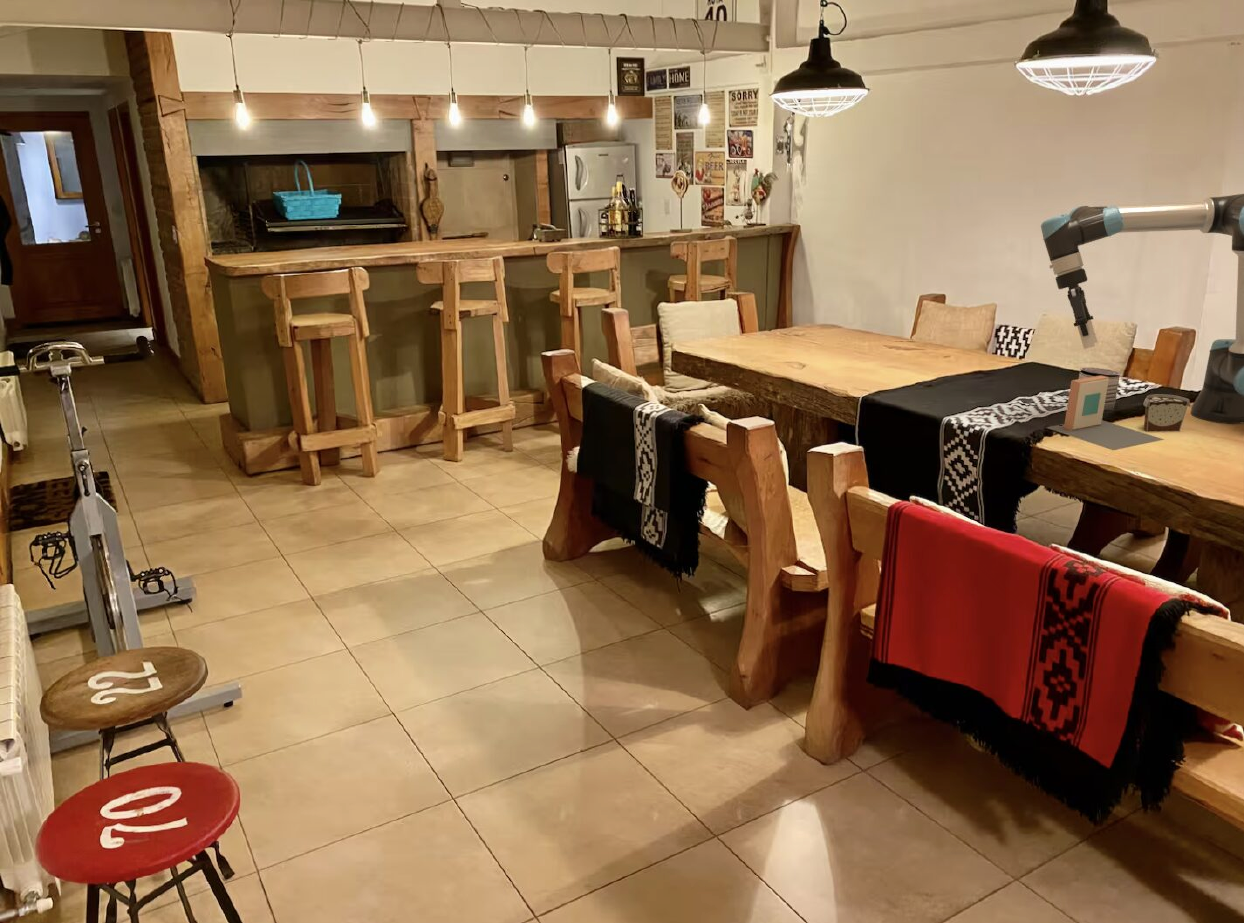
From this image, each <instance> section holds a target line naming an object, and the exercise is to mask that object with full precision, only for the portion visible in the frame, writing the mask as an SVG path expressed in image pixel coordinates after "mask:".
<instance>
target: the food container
mask: <svg viewBox="0 0 1244 923" xmlns="http://www.w3.org/2000/svg"><path fill="white" fill-rule="evenodd" d="M1142 404H1143V406H1144V407H1145V409H1144V410H1145V411H1144V423H1143V430H1144V432H1180V431H1181V429H1182V426H1183V422H1184V419H1185V415H1186V412H1187V409H1188V407H1191V402H1190V398H1186V397H1183V396H1179V395H1173V394H1165V393H1162V394H1161V393H1160V394H1159V393H1157V394H1149V395H1146V398H1145V399H1144V401H1143V403H1142Z"/></svg>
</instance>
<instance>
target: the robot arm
mask: <svg viewBox="0 0 1244 923" xmlns="http://www.w3.org/2000/svg"><path fill="white" fill-rule="evenodd" d="M1040 228H1041V233H1042V237H1043V239H1042V240H1043V241H1044V245H1045V248H1046V251H1047V254H1048V257H1049V258H1048V259H1049V261H1050V265H1049V269H1052V271H1053V274H1054V275H1055V282H1056V285H1057V288H1058V290H1063V289H1066V288H1068V290H1067V295H1066V296H1067V299H1068V302H1069V304H1070V308H1072V313H1073V315H1074V320H1075V321H1074V323H1073V326H1074V327H1077V330H1078V333H1079V336H1080V340H1081V343H1082V347H1083V350H1087V349H1089V348H1092V347H1095V346H1096V345H1095V344H1097V343H1098V339H1097V336H1096V332H1095V328H1094V324H1093V322H1092V320H1094V317H1093V315H1091V314H1090V312H1089V308H1088V306H1087V300H1086V295H1085V291H1084V289H1082V287H1081V286H1080V285H1079V284H1082V283H1085V282H1087V281H1088V277H1087V272H1086V270H1085V269H1084V268H1083V266H1084V261H1083V258H1082V255H1081V251H1080V249H1079V246H1083V245H1086V244H1089V243H1092V242H1095V241H1099V240H1102V239H1105V238H1108V237H1110V238H1111V236H1114V235H1116V234H1121V233H1145V232H1146V233H1147V232H1173V231H1176V232H1177V231H1200V232H1201V233H1203V234H1222V235H1225V236H1226V235H1227V236H1231V251H1232V252H1233V253H1234V254H1235V255H1236V256H1237V282H1236V283H1237V285H1236V286H1237V287H1236V311H1235V312H1236V313H1235V314H1236V315H1235V316H1236V318H1235V320H1236V321H1235V339H1233V338H1232V339H1231V338H1229V339H1228V338H1226V339H1225V338H1223V339H1222V338H1221V339H1220V338H1219V339H1215V340H1213V342H1212V344H1211V347H1210V349H1209V354H1208V359H1207V364H1206V370H1205V375H1204V379H1203V383H1202V384H1203V385H1202V389H1201V390H1200V392H1199V394H1198V395H1197V397H1196V399H1195V401H1194V402H1193V403H1192V405H1191V408H1190V409H1191V410H1190V414H1191V415H1192V416H1194V417H1195V418H1198V419H1202V420H1205V421H1210V422H1213V423H1214V422H1216V423H1221V424H1222V423H1223V424H1244V193H1238V194H1231V195H1224V196H1213V197H1205V198H1204V199H1203V200H1202V201H1191V202H1190V201H1188V202H1168V203H1167V202H1166V203H1149V204H1147V203H1145V204H1128V205H1127V204H1124V205H1123V204H1122V205H1105V206H1102V205H1100V206H1088V205H1081V206H1077V207H1075V208H1074V209H1073V208H1072V210H1070V213H1069V214H1068V213H1064V214H1060V215H1057V216H1053V217H1051V218H1049V219H1046V220H1044V221H1043V222H1042V223H1041V225H1040Z"/></svg>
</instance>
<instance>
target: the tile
mask: <svg viewBox="0 0 1244 923" xmlns="http://www.w3.org/2000/svg"><path fill="white" fill-rule="evenodd" d="M1108 382H1109V377H1105V376H1102V375H1101V376H1095V377H1089V378H1083V379H1079V378H1078V379H1072V380H1071V382H1070V387H1069V393H1068V401H1067V406H1066V412H1065V420H1064V423H1063V424H1064V428H1065V429H1068V430H1071V431H1072V430H1077V429H1082V428H1087V427H1092V426H1097V425H1101V422H1102V420H1103V414H1104V411H1105V410H1104V405H1105V399H1106V393H1107V387H1108Z"/></svg>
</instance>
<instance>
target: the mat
mask: <svg viewBox="0 0 1244 923" xmlns="http://www.w3.org/2000/svg"><path fill="white" fill-rule="evenodd" d="M1064 424H1065V423H1062V424H1057V425H1052V426H1047V427H1045V429H1049V430H1051V431H1054V432H1057V433H1060V434H1065V435H1066V436H1070V437H1072V438H1075V439H1079V440H1082V441H1084V442H1087V443H1090V444H1094V445H1097V446H1099V447H1102V448H1105V449H1108V450H1112V451H1116V450H1121V449H1122V450H1123V449H1126V448H1131V447H1135V446H1139V445H1145V444H1149V443H1153V442H1159V441H1164V440H1165V439H1164V438H1161V437H1158V436H1155V435H1151V434H1148V433H1144V432H1142V431H1138V430H1135V429H1132V428H1128V427H1125V426H1121V425H1119V424H1116V423H1113V422H1109V421H1106V420H1103V419H1102V422H1101V425H1097V426H1092V427H1087V428H1082V429H1077V430H1072V431H1071V430H1068V429H1065V428H1064ZM1059 425H1062V426H1059Z"/></svg>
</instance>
